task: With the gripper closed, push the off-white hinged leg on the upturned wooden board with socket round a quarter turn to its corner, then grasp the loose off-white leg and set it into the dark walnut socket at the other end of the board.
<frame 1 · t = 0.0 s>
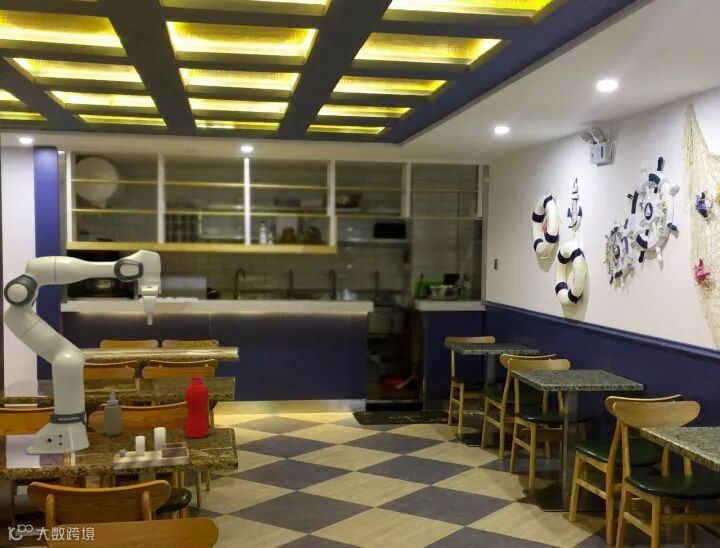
hand: (150, 323, 288), 48 cm above the table, fingers open, 8 cm apart
water bottle: (199, 436, 298), on the table
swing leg: (132, 446, 259), point 6 cm above the table, hinge at 0.0°
wooden board with socket: (151, 462, 259), on the table
squeeze bottle: (112, 434, 302), on the table
loose leg: (160, 451, 273), on the table
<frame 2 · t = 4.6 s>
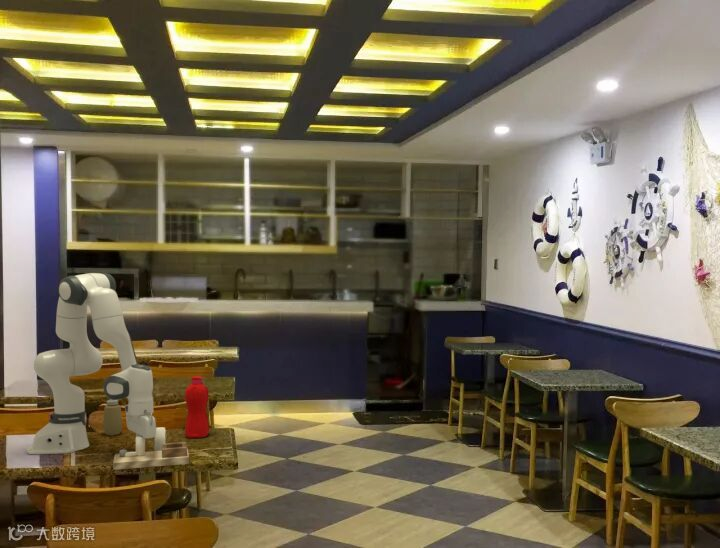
hand: (141, 445, 264), 5 cm above the table, fingers closed
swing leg: (132, 446, 259), point 6 cm above the table, hinge at 0.0°, touching gripper
everything else where it was.
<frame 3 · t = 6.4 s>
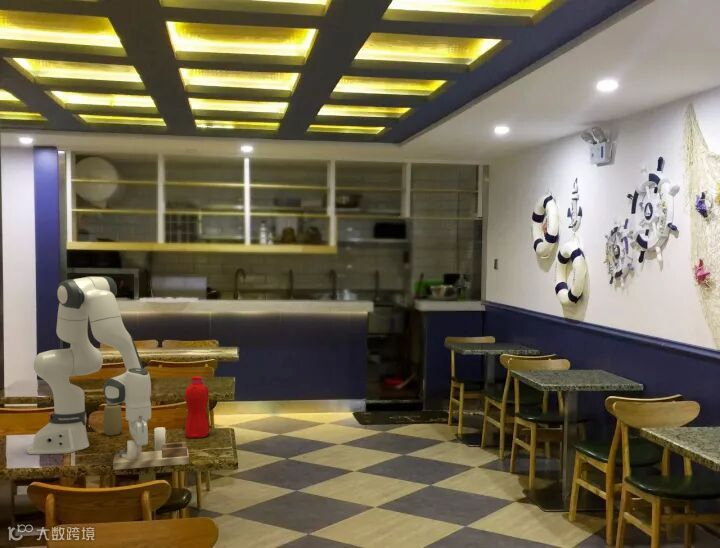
hand: (138, 451, 257), 4 cm above the table, fingers closed
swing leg: (127, 448, 256), point 6 cm above the table, hinge at -56.8°, touching gripper
everything else where it was.
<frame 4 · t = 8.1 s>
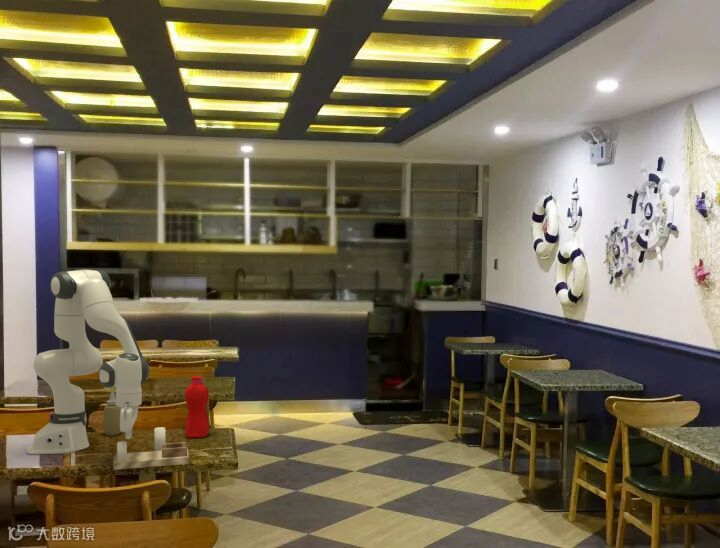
hand: (128, 438, 254), 10 cm above the table, fingers closed
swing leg: (122, 449, 255), point 6 cm above the table, hinge at -90.8°
everything else where it was.
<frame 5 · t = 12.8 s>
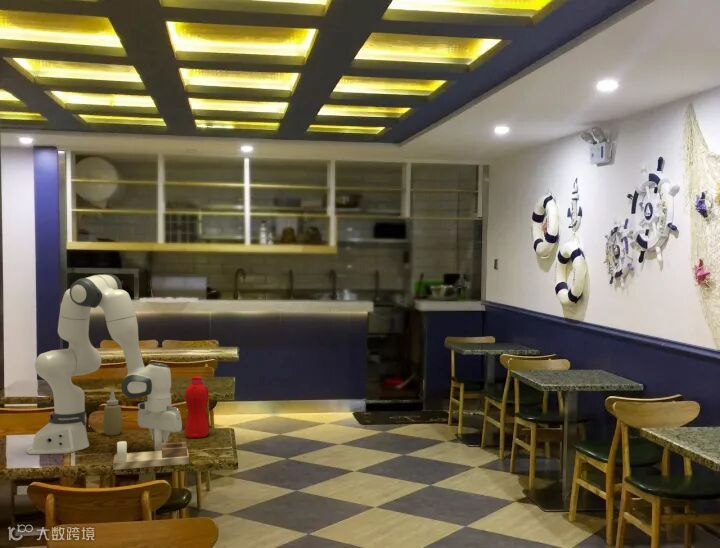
hand: (159, 441, 273), 4 cm above the table, fingers closed on loose leg, 4 cm apart
loose leg: (160, 451, 273), on the table, touching gripper
everything else where it was.
when the fingers open (7 cm above the table, at t = 18.4 s): loose leg stays where it is, resting on wooden board with socket.
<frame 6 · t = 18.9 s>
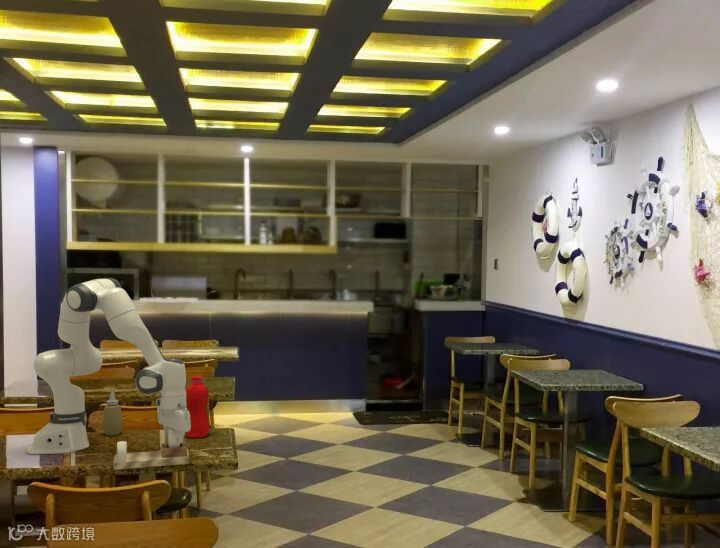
hand: (174, 440, 261), 7 cm above the table, fingers open, 8 cm apart
loose leg: (174, 453, 261), point 2 cm above the table, touching wooden board with socket
everything else where it was.
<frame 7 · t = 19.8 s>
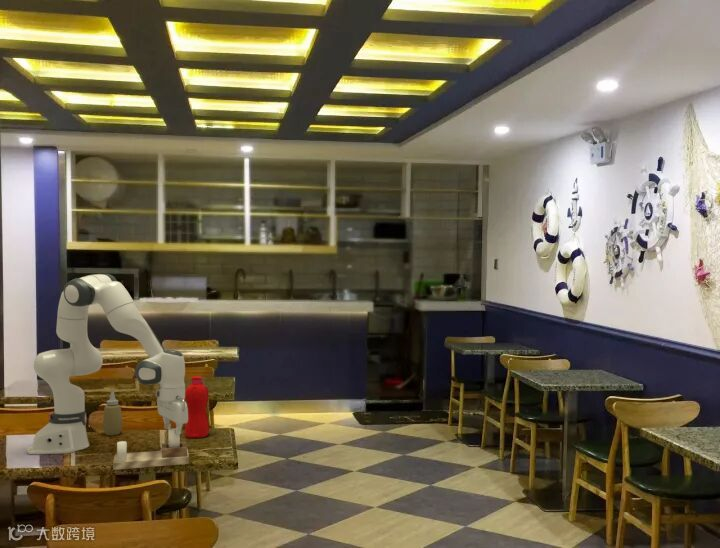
hand: (172, 431, 263), 10 cm above the table, fingers open, 8 cm apart
loose leg: (174, 453, 261), point 2 cm above the table, touching gripper
everything else where it was.
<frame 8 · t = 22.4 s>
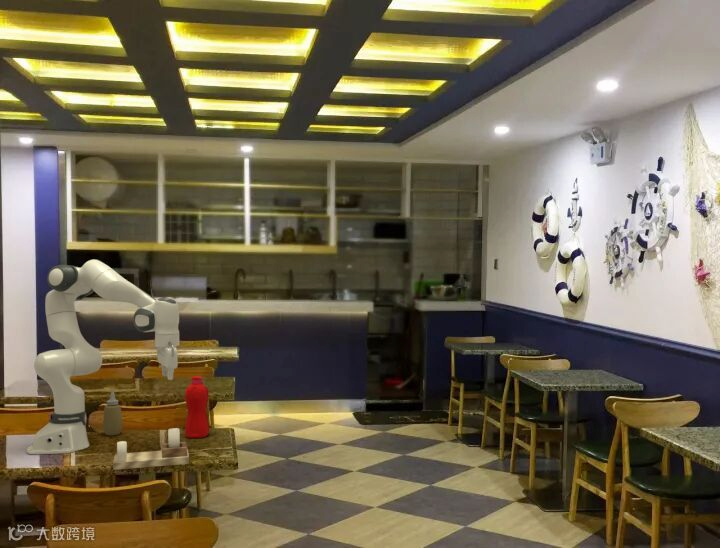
hand: (167, 377, 269), 29 cm above the table, fingers open, 8 cm apart
loose leg: (174, 453, 261), point 2 cm above the table, touching wooden board with socket
everything else where it was.
at the end: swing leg at -91° (first picture: +0°); loose leg 0.0 cm from the target spot on the wooden board with socket, point 2.4 cm above the wooden board with socket's base; loose leg tilted 1° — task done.
